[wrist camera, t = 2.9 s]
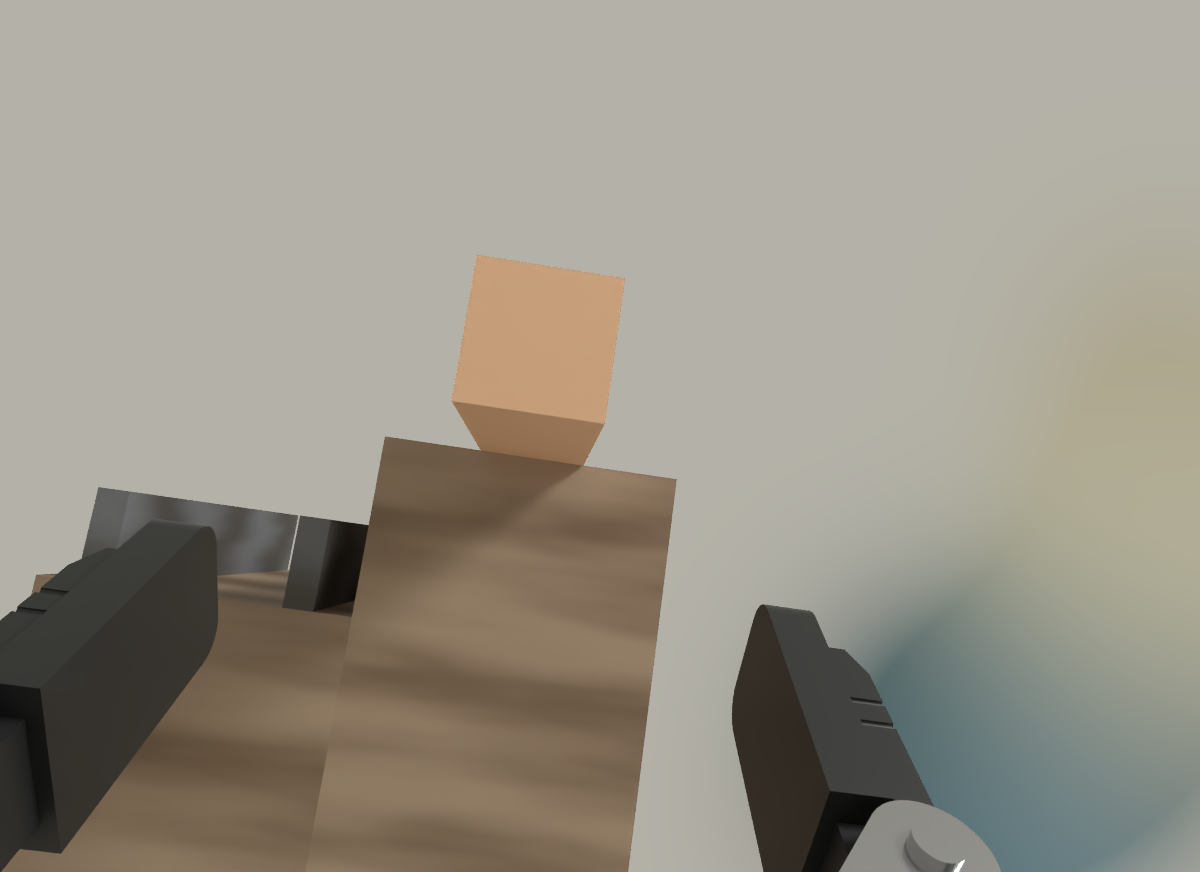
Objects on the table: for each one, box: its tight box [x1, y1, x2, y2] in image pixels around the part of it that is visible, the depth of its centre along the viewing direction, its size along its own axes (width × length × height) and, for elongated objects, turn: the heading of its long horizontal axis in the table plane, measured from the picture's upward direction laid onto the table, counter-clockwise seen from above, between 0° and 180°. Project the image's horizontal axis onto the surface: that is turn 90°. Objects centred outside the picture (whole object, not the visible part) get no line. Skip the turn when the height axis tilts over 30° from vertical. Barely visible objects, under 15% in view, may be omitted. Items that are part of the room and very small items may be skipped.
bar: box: [452, 255, 625, 466], centre depth 31 cm, size 26×4×4 cm, turn 4°
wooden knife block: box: [2, 437, 676, 872], centre depth 33 cm, size 18×20×32 cm
